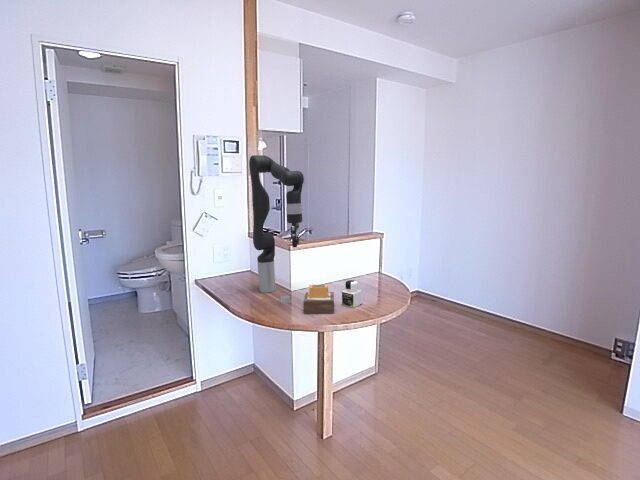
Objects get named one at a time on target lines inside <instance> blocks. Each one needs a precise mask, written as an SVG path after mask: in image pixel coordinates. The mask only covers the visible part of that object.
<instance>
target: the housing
mask: <svg viewBox="0 0 640 480" xmlns="http://www.w3.org/2000/svg"><path fill="white" fill-rule="evenodd" d="M308 287H309V288H308V290H309V291H308V292H309V295H310V298H326V297H328V292H329V284H327V283H325V284H309V285H308Z"/></svg>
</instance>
